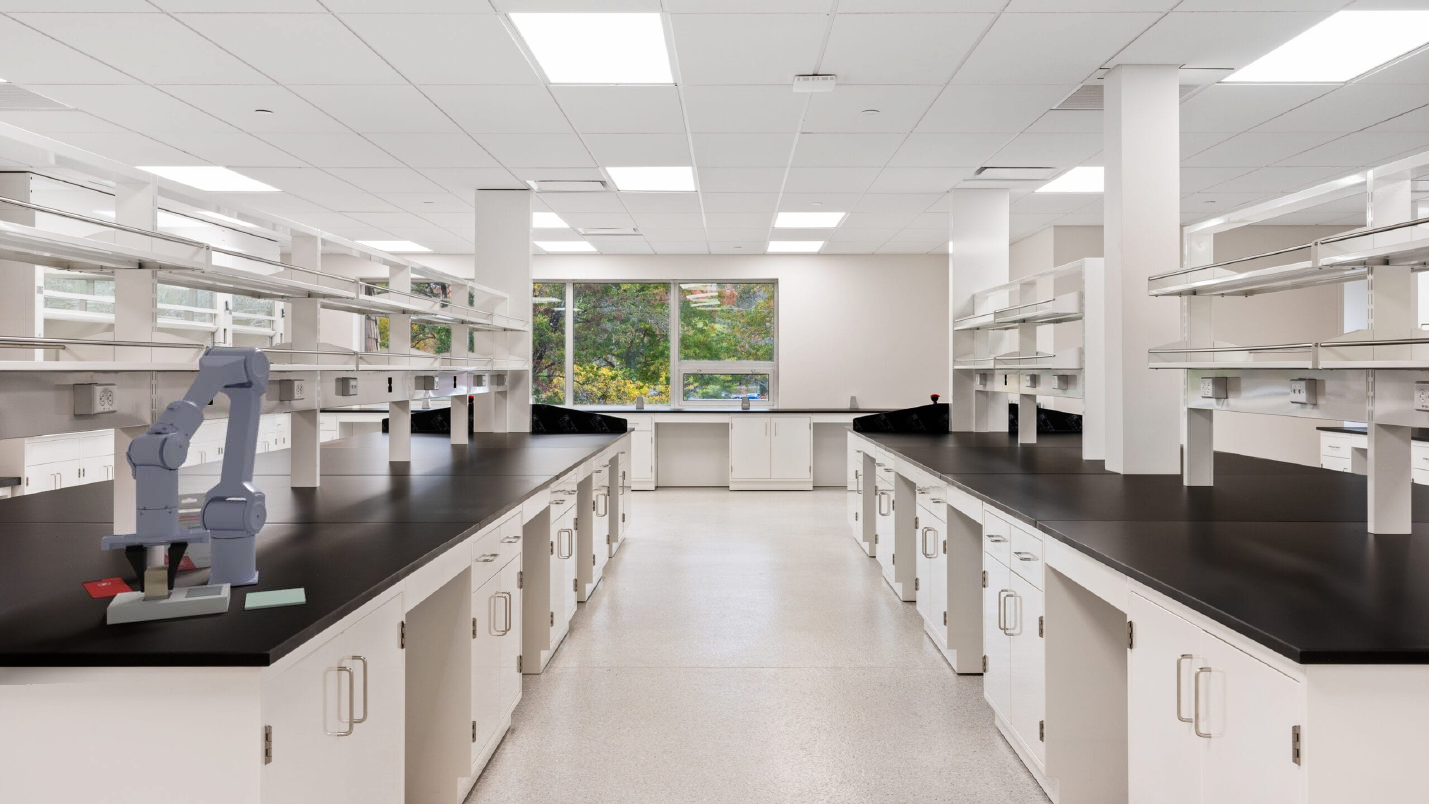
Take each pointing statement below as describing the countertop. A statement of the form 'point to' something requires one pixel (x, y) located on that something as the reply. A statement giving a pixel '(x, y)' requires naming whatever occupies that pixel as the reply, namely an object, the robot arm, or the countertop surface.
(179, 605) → the white slotted tray
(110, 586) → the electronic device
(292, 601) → the mat
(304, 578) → the countertop surface
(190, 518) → the ink cartridge box
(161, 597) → the plug
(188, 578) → the countertop surface
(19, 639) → the countertop surface
